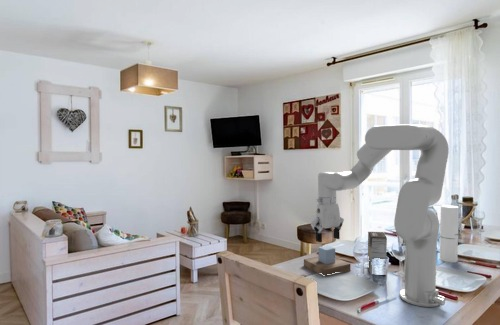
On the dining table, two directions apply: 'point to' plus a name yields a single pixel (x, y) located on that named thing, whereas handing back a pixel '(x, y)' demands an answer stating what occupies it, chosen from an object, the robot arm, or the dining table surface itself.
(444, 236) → the cylindrical container
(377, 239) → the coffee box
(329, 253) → the slate block
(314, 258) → the walnut base
